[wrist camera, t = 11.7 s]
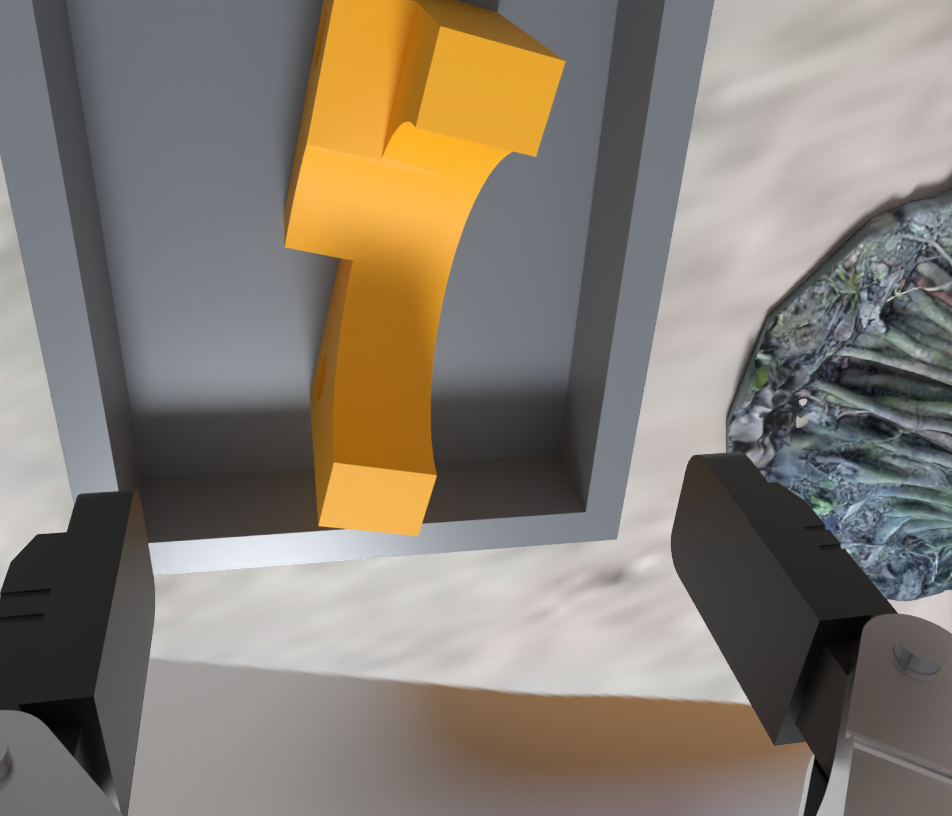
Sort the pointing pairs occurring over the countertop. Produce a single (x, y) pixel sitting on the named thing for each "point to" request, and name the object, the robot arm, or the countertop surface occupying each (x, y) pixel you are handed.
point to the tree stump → (865, 398)
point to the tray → (332, 273)
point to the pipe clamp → (398, 223)
